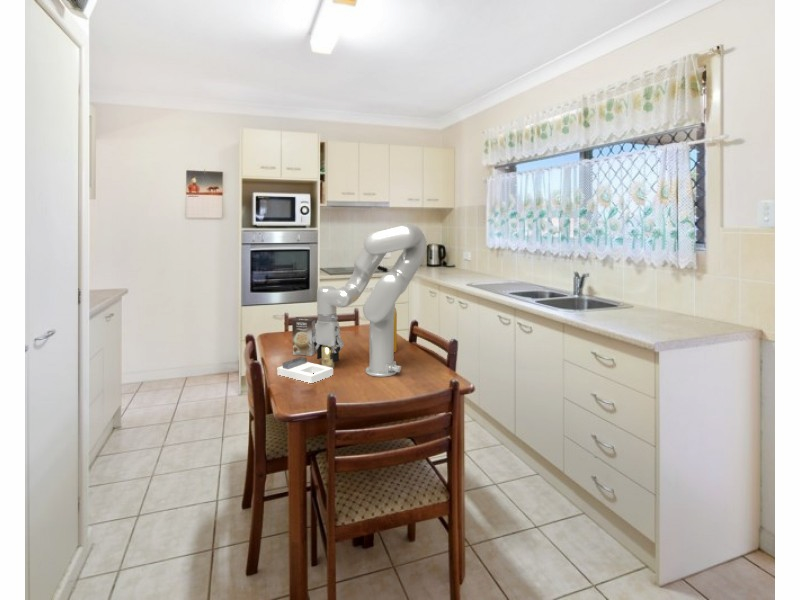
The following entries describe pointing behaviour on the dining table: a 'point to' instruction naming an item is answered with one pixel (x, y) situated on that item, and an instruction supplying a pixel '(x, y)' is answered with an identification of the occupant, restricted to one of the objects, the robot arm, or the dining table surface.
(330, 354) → the bushing
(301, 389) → the dining table surface
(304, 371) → the jig
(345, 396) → the dining table surface
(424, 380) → the dining table surface
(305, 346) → the coffee box
